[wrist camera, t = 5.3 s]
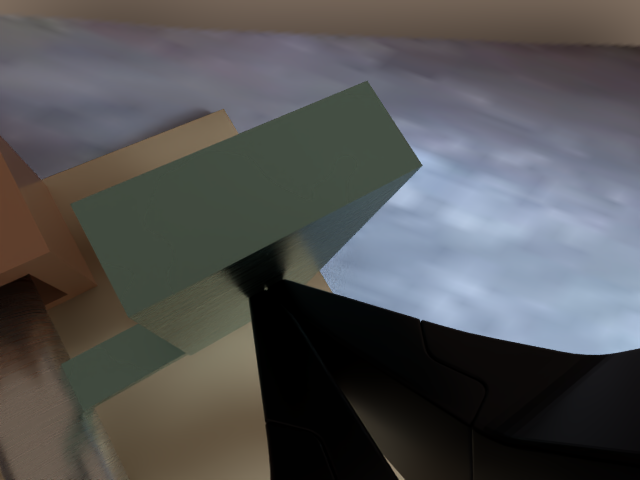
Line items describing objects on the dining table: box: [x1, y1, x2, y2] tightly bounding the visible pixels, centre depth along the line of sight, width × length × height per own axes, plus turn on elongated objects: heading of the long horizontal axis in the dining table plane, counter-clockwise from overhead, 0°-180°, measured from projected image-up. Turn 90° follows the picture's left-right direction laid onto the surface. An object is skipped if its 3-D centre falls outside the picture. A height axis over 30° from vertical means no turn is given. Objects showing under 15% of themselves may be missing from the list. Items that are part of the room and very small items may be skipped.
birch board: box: [0, 109, 405, 480], centre depth 15 cm, size 22×14×1 cm, turn 31°
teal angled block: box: [0, 81, 423, 480], centre depth 9 cm, size 13×9×11 cm
